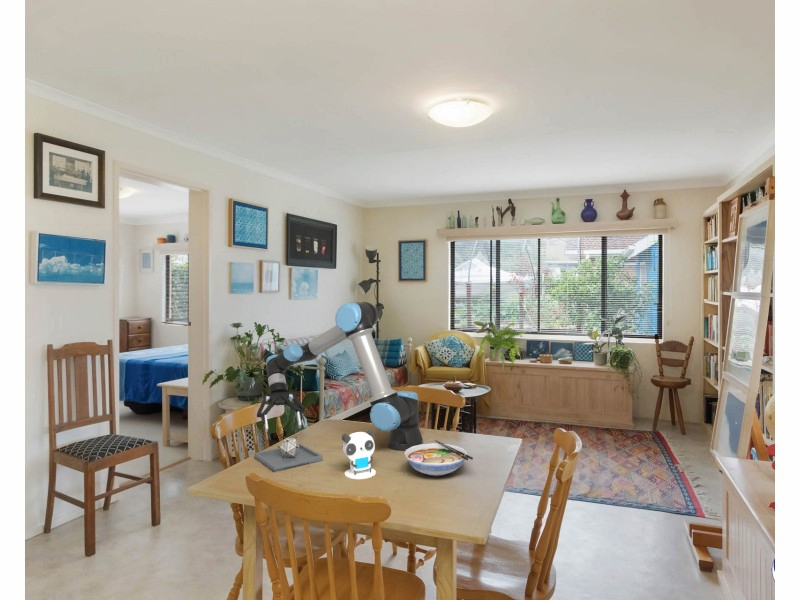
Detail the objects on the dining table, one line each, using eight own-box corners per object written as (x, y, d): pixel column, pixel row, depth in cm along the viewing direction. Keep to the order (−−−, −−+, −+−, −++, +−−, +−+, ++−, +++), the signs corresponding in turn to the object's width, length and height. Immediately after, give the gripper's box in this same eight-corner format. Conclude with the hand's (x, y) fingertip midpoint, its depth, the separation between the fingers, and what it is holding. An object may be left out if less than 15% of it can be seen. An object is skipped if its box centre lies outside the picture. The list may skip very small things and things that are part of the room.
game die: (294, 465, 202) (308, 443, 204) (287, 464, 194) (302, 441, 196) (276, 452, 204) (291, 431, 206) (269, 451, 196) (284, 429, 199)
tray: (322, 460, 198) (322, 455, 198) (274, 472, 186) (273, 466, 186) (300, 448, 214) (300, 443, 214) (254, 458, 202) (254, 453, 202)
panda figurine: (349, 481, 176) (348, 439, 175) (338, 471, 186) (337, 431, 186) (380, 475, 181) (379, 434, 181) (368, 466, 191) (368, 426, 191)
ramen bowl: (393, 466, 190) (393, 445, 190) (447, 457, 199) (446, 437, 199) (422, 490, 167) (422, 466, 167) (481, 479, 176) (481, 456, 176)
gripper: (304, 388, 230) (312, 429, 217) (248, 393, 221) (252, 436, 208) (306, 379, 225) (314, 420, 212) (248, 383, 216) (253, 427, 202)
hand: (283, 428), depth 210 cm, fingers open, 13 cm apart
